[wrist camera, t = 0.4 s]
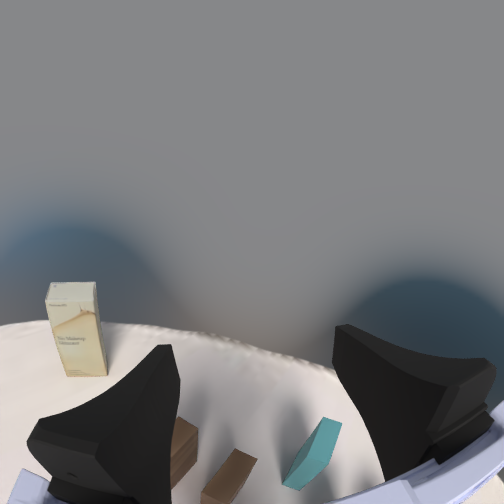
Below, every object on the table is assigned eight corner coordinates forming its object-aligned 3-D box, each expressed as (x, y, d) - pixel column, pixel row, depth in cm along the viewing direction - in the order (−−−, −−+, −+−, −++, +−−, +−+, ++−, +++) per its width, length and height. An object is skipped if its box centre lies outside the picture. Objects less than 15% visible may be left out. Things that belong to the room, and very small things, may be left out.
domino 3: (314, 457, 23) (342, 423, 20) (299, 490, 19) (328, 464, 16) (298, 451, 24) (323, 416, 21) (282, 484, 20) (306, 457, 17)
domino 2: (243, 485, 19) (257, 458, 16) (218, 519, 15) (226, 504, 12) (225, 477, 20) (235, 448, 17) (200, 509, 16) (201, 491, 13)
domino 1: (196, 461, 21) (198, 428, 18) (169, 491, 17) (161, 467, 14) (181, 451, 22) (178, 416, 19) (153, 480, 18) (141, 452, 15)
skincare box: (67, 377, 26) (42, 302, 22) (68, 355, 30) (49, 281, 25) (109, 376, 29) (93, 301, 25) (107, 353, 33) (95, 280, 28)
